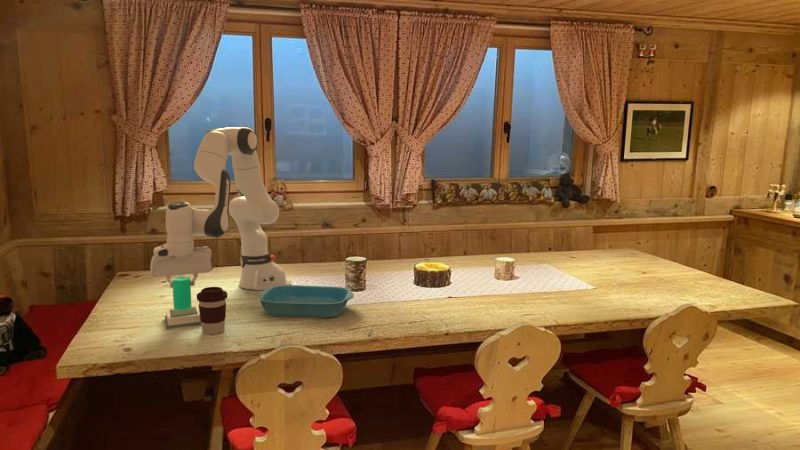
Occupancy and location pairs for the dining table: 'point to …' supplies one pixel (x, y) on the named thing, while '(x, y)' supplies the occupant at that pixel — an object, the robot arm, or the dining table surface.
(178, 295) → the candle
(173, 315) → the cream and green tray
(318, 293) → the casserole dish
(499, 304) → the dining table surface
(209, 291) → the coffee cup
